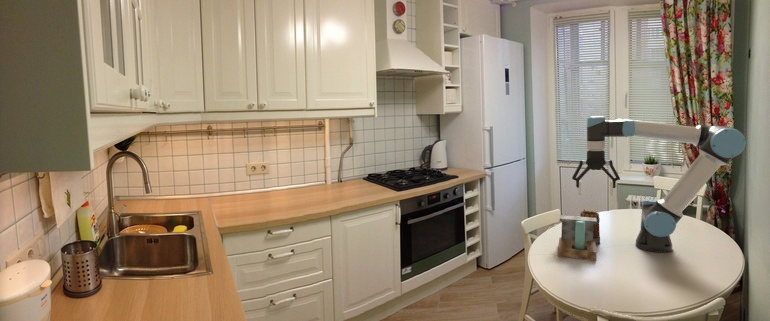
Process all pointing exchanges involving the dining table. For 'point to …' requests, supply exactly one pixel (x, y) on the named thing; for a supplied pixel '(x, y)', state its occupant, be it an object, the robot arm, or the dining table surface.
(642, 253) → the dining table surface
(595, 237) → the mug
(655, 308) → the dining table surface
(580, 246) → the peg
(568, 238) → the socket block
